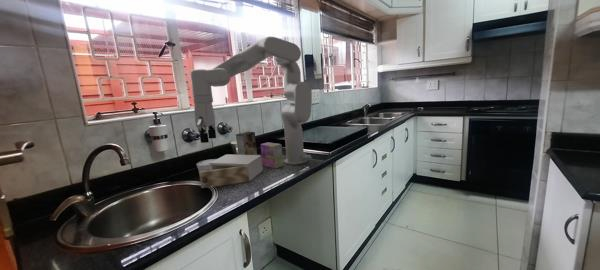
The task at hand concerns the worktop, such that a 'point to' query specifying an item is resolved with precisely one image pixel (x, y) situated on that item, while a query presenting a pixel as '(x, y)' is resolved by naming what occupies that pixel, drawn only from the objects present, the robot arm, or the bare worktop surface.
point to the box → (272, 155)
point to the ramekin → (204, 165)
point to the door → (223, 176)
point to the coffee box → (246, 143)
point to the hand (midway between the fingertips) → (208, 140)
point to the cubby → (239, 163)
